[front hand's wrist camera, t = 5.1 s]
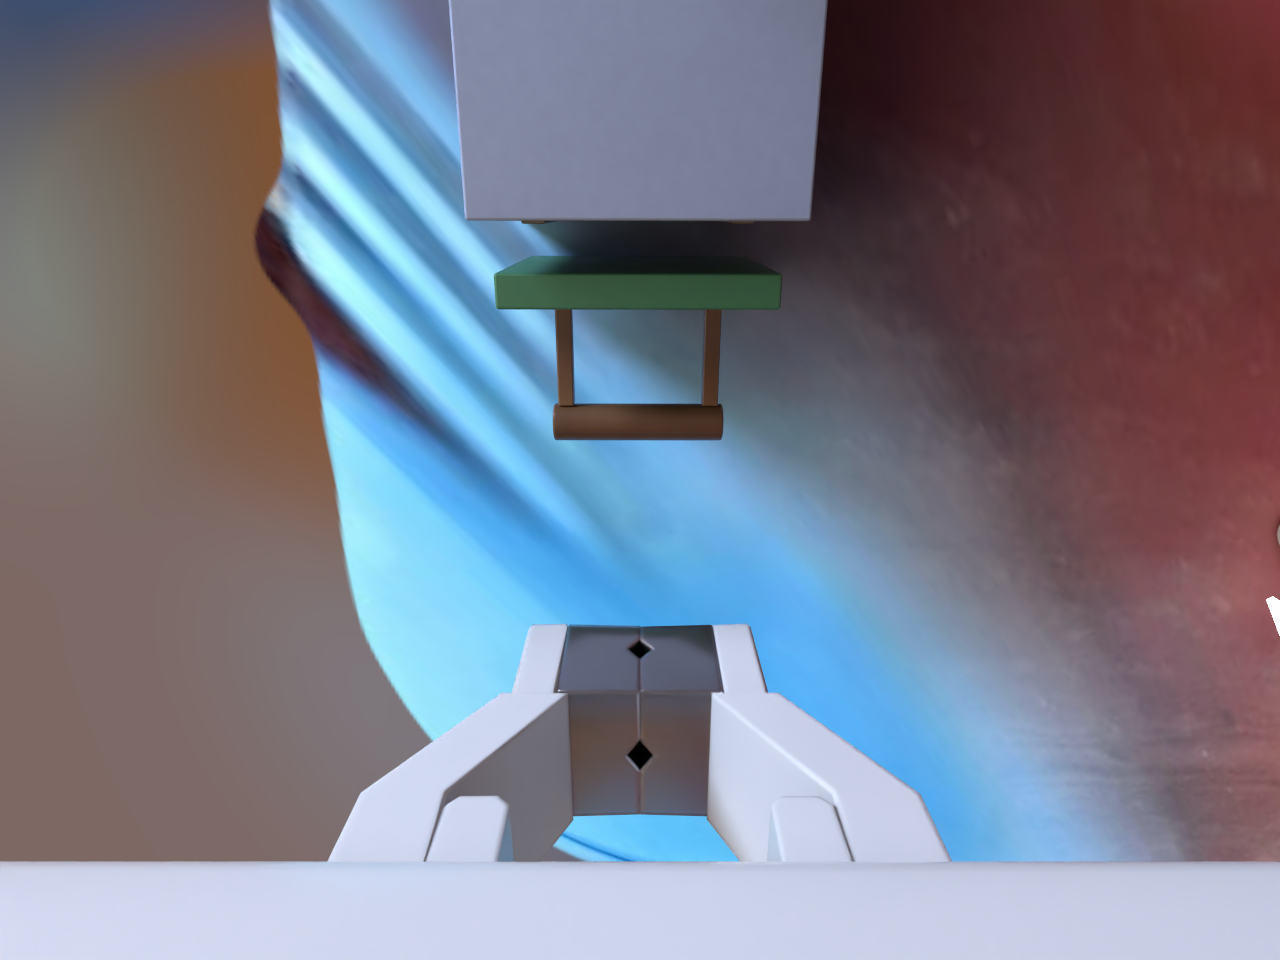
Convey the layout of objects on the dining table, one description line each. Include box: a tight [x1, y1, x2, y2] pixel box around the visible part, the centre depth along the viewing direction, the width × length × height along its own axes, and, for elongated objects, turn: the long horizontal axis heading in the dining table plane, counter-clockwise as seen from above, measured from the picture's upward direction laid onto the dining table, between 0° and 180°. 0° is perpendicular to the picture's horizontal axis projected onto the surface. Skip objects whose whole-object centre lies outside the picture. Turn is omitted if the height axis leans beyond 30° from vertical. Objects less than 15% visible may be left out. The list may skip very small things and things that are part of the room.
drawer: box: [494, 221, 782, 440], centre depth 28 cm, size 24×10×9 cm, turn 0°
